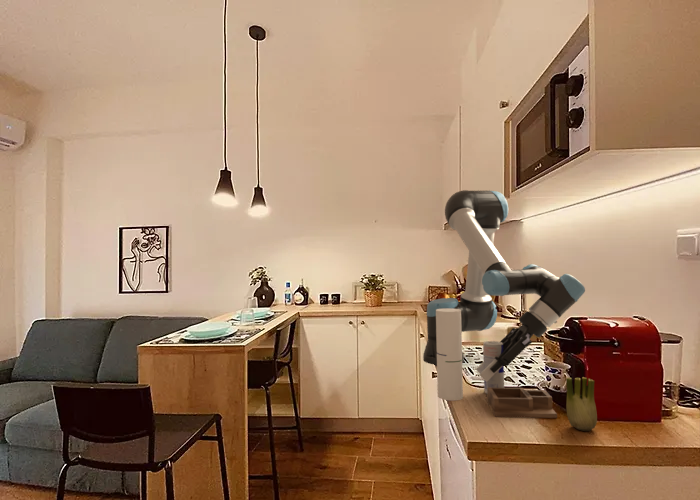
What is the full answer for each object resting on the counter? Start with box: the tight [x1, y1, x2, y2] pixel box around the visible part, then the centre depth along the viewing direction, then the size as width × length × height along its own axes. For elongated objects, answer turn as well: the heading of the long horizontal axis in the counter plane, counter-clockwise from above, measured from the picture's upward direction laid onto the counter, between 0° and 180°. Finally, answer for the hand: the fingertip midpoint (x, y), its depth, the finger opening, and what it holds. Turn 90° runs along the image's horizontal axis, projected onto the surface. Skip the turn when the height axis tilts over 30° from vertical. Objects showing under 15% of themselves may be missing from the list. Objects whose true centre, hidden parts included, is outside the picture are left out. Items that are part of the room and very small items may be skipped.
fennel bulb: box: [565, 376, 598, 432], centre depth 106 cm, size 6×5×12 cm
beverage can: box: [482, 340, 505, 395], centre depth 133 cm, size 6×6×15 cm
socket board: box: [485, 387, 558, 419], centre depth 120 cm, size 13×15×4 cm
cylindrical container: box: [436, 308, 464, 401], centre depth 131 cm, size 7×7×25 cm
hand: (481, 375), depth 133 cm, fingers closed on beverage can, 5 cm apart
